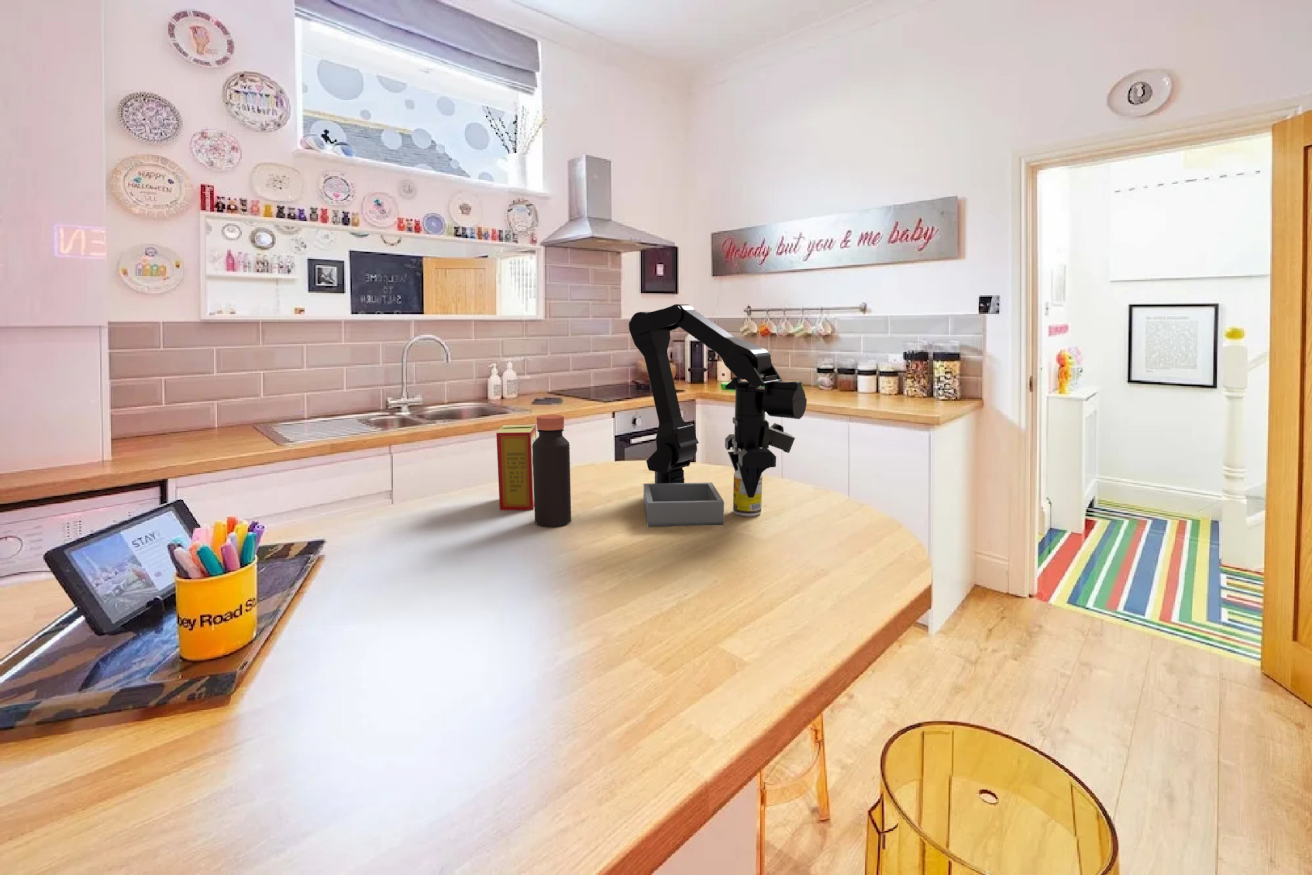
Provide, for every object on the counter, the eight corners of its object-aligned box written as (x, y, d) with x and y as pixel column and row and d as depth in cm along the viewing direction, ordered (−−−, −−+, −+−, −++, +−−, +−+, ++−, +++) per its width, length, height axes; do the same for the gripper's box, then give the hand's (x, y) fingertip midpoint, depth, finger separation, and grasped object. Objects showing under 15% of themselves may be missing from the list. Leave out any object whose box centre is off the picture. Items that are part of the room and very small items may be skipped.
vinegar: (568, 528, 119) (565, 419, 115) (531, 527, 119) (527, 419, 115) (573, 516, 125) (571, 413, 122) (538, 516, 126) (535, 413, 122)
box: (647, 526, 120) (647, 503, 119) (643, 504, 133) (643, 483, 132) (723, 525, 121) (724, 501, 120) (711, 503, 134) (712, 482, 133)
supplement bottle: (736, 507, 132) (737, 458, 130) (763, 510, 130) (765, 460, 128) (729, 515, 126) (731, 464, 124) (758, 518, 124) (759, 466, 123)
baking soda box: (533, 509, 130) (530, 430, 127) (499, 510, 130) (496, 431, 127) (538, 496, 139) (535, 422, 136) (507, 497, 139) (503, 423, 136)
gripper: (806, 421, 116) (802, 506, 119) (778, 406, 134) (776, 480, 137) (743, 422, 115) (741, 507, 118) (725, 407, 133) (723, 481, 136)
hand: (747, 493), depth 127 cm, fingers closed on supplement bottle, 6 cm apart
